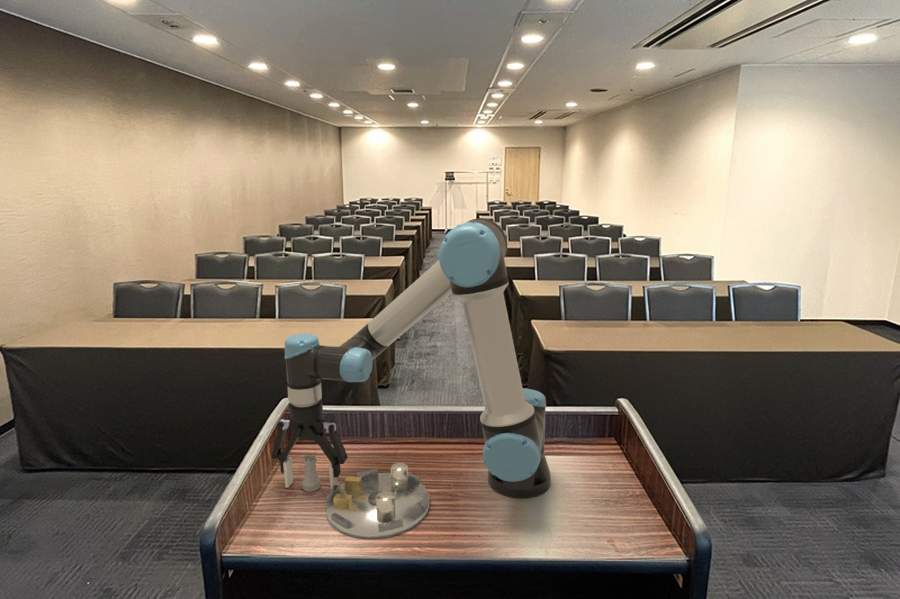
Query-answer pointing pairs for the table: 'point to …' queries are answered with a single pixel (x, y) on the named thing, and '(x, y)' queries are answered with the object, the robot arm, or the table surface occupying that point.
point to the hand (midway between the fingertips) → (311, 486)
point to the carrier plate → (369, 512)
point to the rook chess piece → (310, 474)
